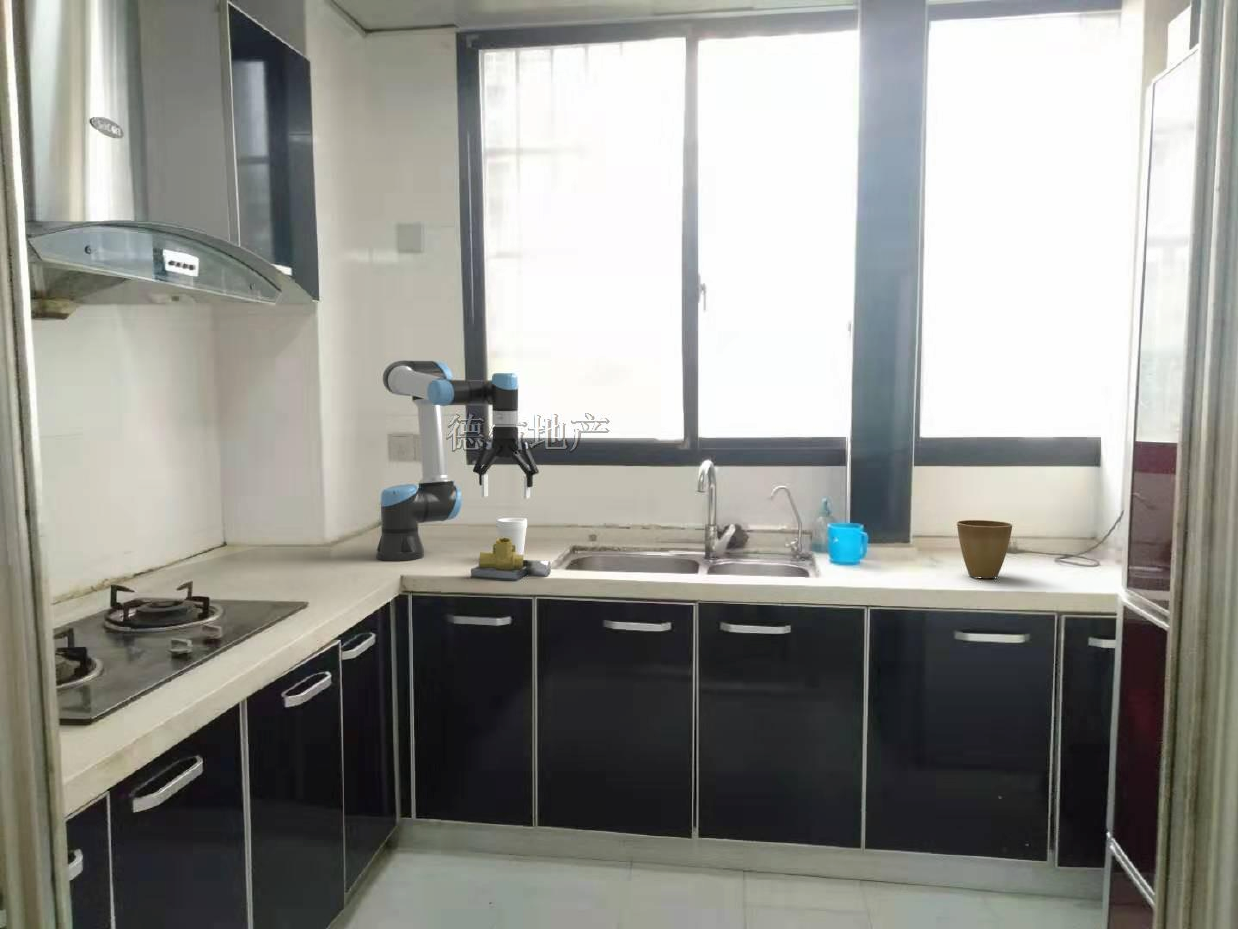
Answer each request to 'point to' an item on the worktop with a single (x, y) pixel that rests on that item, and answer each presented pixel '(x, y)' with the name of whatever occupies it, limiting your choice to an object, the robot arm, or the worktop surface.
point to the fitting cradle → (528, 569)
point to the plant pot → (984, 546)
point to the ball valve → (502, 556)
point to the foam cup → (513, 532)
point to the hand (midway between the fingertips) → (505, 497)
